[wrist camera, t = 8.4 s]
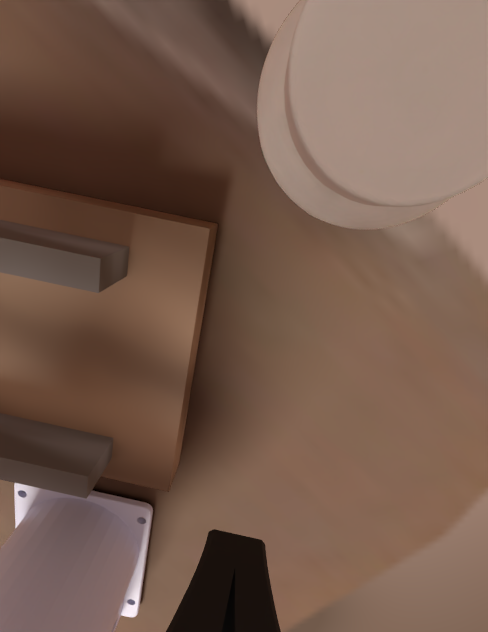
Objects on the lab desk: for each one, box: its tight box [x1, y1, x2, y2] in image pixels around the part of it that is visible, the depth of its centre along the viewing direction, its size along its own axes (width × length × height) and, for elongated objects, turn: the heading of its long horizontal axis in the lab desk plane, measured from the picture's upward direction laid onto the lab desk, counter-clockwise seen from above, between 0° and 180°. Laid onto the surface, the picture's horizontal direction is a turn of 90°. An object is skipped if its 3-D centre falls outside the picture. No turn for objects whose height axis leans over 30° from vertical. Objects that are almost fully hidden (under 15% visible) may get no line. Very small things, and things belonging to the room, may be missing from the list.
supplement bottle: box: [257, 0, 488, 230], centre depth 10 cm, size 5×5×10 cm
